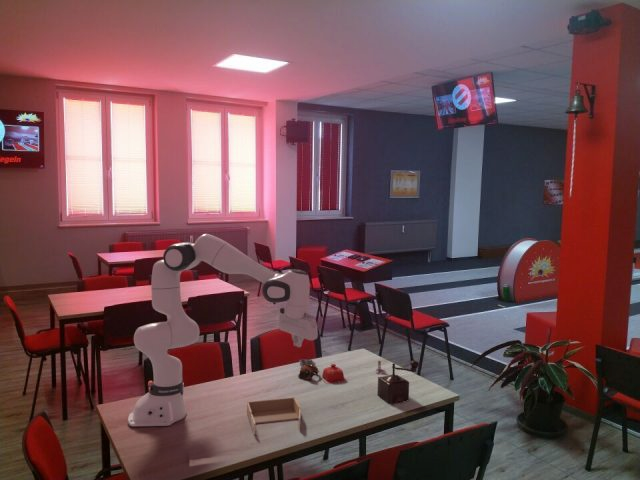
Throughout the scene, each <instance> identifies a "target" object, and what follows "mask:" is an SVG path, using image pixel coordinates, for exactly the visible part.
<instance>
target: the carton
mask: <svg viewBox="0 0 640 480" xmlns="http://www.w3.org/2000/svg"><path fill="white" fill-rule="evenodd" d="M299 408H301V406H300V404H299V403H298V401H297V399H296V397H295V396H294V397H284V398H275V399H274V398H273V399H272V398H271V399H264V400H252V401H247V402H246V415H247V418H248V422H249V425H250V426H251V424H250V413H252V415H253V418H254V421H255V425H260V424H267V423H268V424H269V423H276V422H286V421H294V420H296V421H297V420H299Z"/></svg>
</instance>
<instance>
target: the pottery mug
mask: <svg viewBox="0 0 640 480" xmlns="http://www.w3.org/2000/svg"><path fill="white" fill-rule="evenodd" d="M303 365H304V366H302V367H301V366H300V370H299V373H298V375H297V377H298V380H299V379H300V380H302V381H306V380H307V381H311V380H312V379H313V377H314V374H315V375H316V377H318V376H319V372H318V370H319V368H317V367H314V366H311V364H310V363H309V364H306V363H305V364H303Z"/></svg>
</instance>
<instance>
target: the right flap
mask: <svg viewBox="0 0 640 480" xmlns="http://www.w3.org/2000/svg"><path fill="white" fill-rule="evenodd" d="M301 411H302V409H301V407H300V408H299V419H298V429H299V430H300V429H301V420H302V419H301V417H302V416H301V415H302V412H301Z"/></svg>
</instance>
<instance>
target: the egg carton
mask: <svg viewBox="0 0 640 480" xmlns="http://www.w3.org/2000/svg"><path fill="white" fill-rule="evenodd" d="M303 363H304V364H305V363H306V364H309V365H312V366H314V367H316V362H315V361H314V360H313V359H309V358H308V359H299V365H301V366H300V368H301V367H302V366H304V364H303ZM310 363H311V364H310ZM316 368H317V367H316Z"/></svg>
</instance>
